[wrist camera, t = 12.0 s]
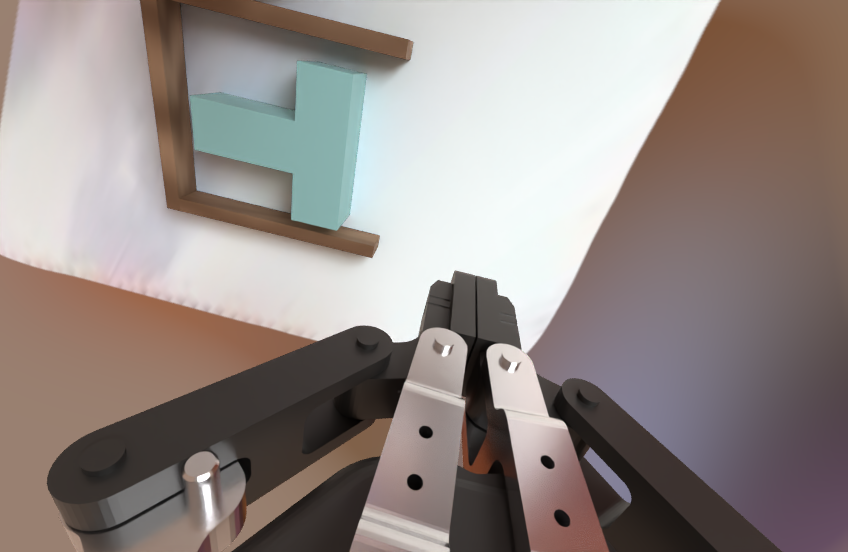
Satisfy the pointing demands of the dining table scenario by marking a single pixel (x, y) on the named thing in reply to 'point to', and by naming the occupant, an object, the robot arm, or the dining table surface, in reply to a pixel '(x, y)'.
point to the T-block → (294, 137)
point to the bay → (174, 114)
